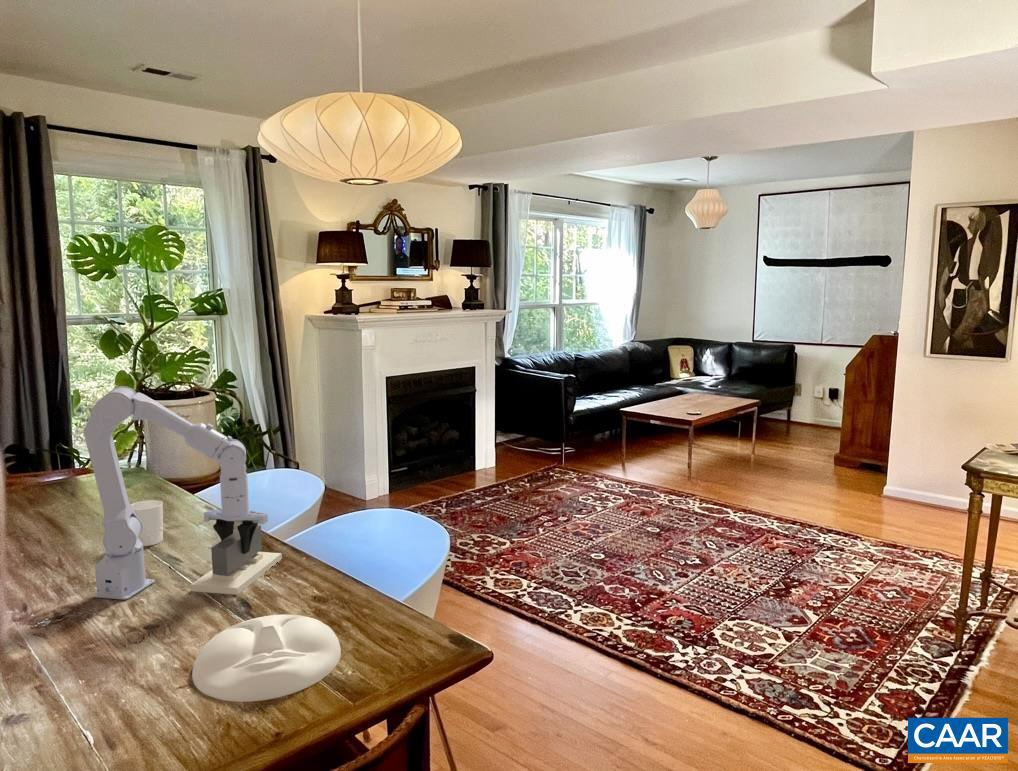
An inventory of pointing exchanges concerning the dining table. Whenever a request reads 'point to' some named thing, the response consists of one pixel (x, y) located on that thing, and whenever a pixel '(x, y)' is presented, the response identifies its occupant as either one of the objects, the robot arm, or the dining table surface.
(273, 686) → the theatrical mask
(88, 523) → the dining table surface
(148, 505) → the white cup
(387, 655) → the dining table surface
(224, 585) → the plate
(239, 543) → the matte grey box
